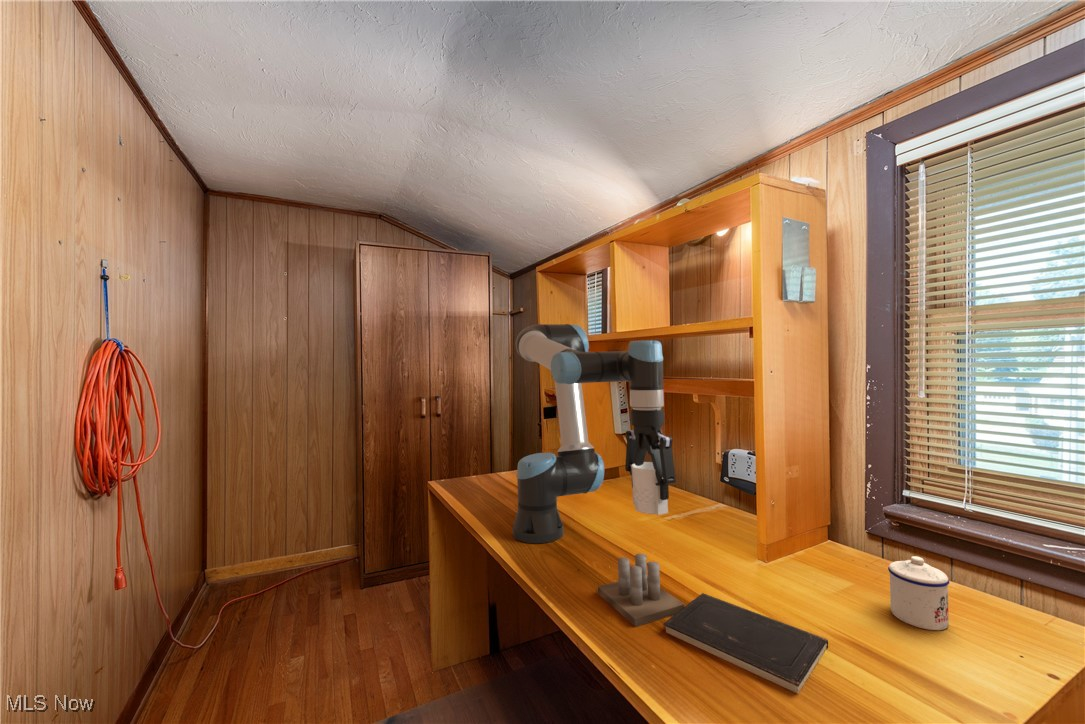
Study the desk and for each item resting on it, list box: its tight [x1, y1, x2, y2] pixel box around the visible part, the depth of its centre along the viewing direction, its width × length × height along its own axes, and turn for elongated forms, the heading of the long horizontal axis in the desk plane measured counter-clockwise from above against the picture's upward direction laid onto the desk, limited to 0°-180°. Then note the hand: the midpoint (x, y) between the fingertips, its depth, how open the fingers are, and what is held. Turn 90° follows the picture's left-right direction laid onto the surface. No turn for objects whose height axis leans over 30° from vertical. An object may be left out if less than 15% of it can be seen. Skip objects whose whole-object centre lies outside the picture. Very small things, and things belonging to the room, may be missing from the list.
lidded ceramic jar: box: [887, 555, 950, 631], centre depth 88 cm, size 12×9×12 cm
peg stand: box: [597, 553, 685, 628], centre depth 95 cm, size 14×12×8 cm
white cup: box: [630, 461, 663, 515], centre depth 103 cm, size 8×8×10 cm
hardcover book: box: [662, 592, 829, 695], centre depth 82 cm, size 16×23×2 cm
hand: (649, 508), depth 103 cm, fingers closed on white cup, 7 cm apart
